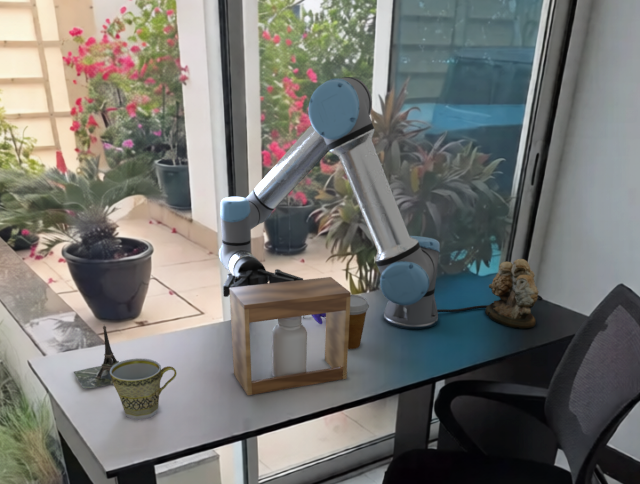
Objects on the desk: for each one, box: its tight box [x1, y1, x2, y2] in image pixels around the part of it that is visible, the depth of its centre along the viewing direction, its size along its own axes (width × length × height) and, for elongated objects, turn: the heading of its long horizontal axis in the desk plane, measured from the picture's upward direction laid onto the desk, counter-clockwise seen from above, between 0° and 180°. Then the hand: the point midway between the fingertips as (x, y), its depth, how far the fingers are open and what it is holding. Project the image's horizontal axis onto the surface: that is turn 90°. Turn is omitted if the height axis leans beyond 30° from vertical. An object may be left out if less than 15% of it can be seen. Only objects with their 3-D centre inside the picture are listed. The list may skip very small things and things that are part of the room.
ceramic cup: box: [110, 358, 177, 421], centre depth 135 cm, size 13×10×10 cm
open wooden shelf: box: [229, 276, 352, 396], centre depth 147 cm, size 11×24×21 cm, turn 114°
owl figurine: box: [484, 258, 539, 330], centre depth 185 cm, size 18×12×17 cm, turn 30°
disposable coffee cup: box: [348, 294, 370, 350], centre depth 166 cm, size 10×10×12 cm
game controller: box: [302, 313, 326, 325], centre depth 181 cm, size 10×8×10 cm
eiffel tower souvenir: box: [73, 325, 120, 389], centre depth 147 cm, size 15×10×13 cm
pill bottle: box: [271, 316, 308, 378], centre depth 149 cm, size 8×8×15 cm
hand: (274, 298), depth 153 cm, fingers open, 13 cm apart
